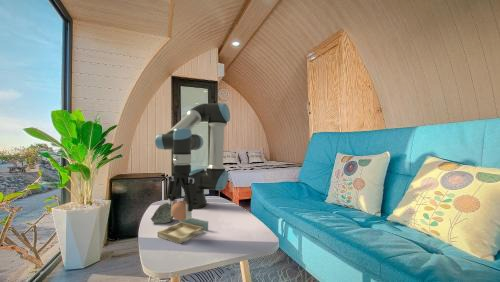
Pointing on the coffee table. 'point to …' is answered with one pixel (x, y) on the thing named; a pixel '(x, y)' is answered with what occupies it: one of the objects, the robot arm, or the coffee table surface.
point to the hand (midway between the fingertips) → (181, 216)
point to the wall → (196, 223)
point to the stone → (162, 214)
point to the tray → (180, 232)
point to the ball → (179, 210)
